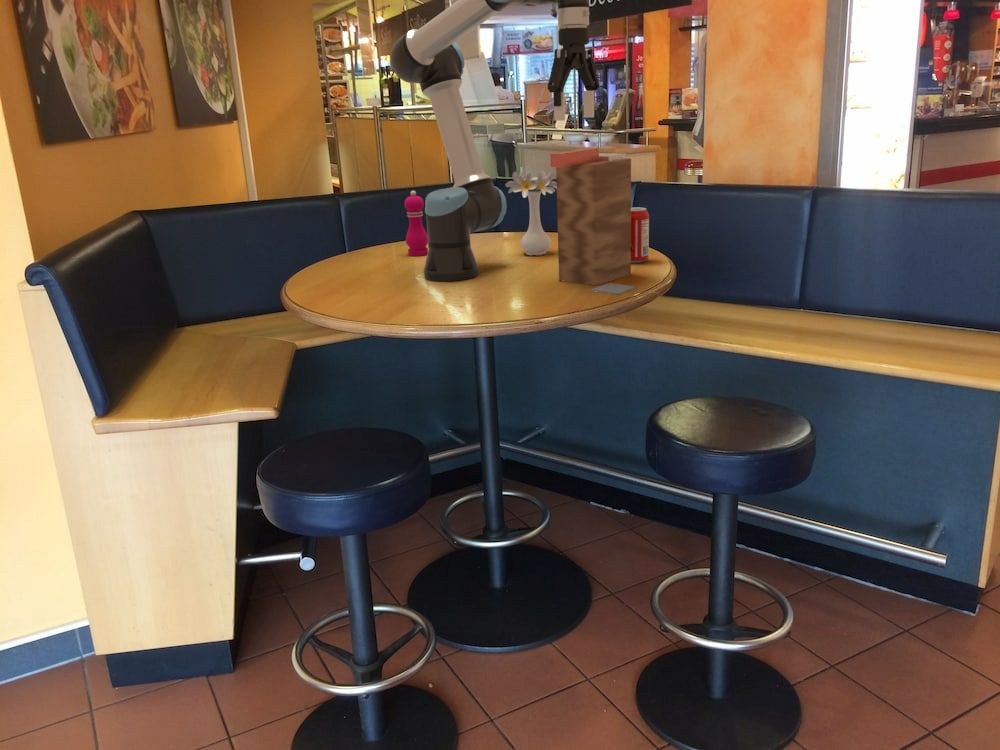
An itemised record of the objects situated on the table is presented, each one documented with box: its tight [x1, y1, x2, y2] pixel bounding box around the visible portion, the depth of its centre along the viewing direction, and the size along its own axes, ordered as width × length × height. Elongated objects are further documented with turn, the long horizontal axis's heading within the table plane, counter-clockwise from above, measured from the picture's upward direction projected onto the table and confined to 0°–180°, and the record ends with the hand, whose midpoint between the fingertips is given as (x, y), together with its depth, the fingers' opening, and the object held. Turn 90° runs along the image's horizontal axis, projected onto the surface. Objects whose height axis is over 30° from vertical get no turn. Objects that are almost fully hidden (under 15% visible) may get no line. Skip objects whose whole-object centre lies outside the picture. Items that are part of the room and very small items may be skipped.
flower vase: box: [504, 170, 557, 256], centre depth 252 cm, size 13×18×25 cm
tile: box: [590, 282, 636, 296], centre depth 206 cm, size 8×8×1 cm
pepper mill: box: [404, 190, 429, 257], centre depth 261 cm, size 7×7×20 cm
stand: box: [555, 157, 632, 286], centre depth 216 cm, size 12×16×30 cm
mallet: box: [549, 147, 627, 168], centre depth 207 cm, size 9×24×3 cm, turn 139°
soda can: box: [631, 206, 650, 264], centre depth 235 cm, size 8×8×15 cm
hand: (574, 119), depth 208 cm, fingers open, 13 cm apart
